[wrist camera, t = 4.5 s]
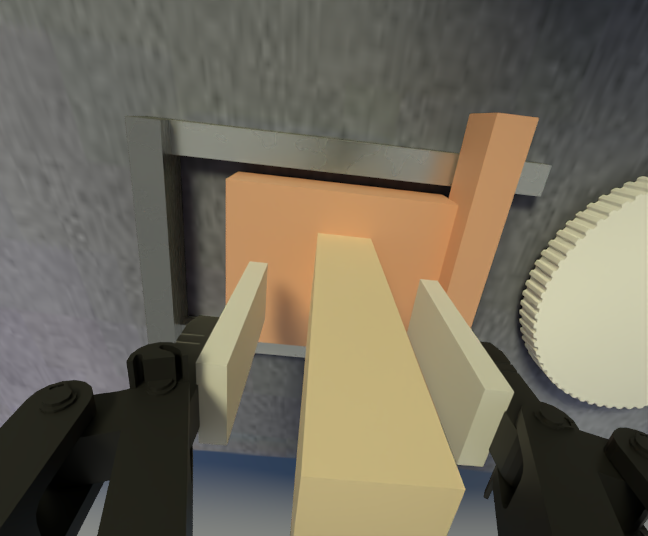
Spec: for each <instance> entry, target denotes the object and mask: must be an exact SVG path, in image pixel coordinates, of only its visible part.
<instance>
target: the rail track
mask: <svg viewBox="0 0 648 536" xmlns="http://www.w3.org/2000/svg"><path fill="white" fill-rule="evenodd" d="M125 125H126V134H127V144H128V153H129V163H130V172H131V182H132V192H133V201H134V211H135V220H136V230H137V239H138V249H139V258H140V268H141V277H142V287H143V296H144V306H145V315H146V325H147V334H148V344H152V343H157V342H172V343H176V340H177V339H178V337H179V336H180V334H181V333H182V331H183V330H184V328H185V327H186V325H187V324H188V323H189V322H190V321H192V320H193V319H195V318H196V317H194V316H188V308H187V288H186V268H185V248H184V228H183V207H182V187H181V167H180V155H182V156H191V157H200V158H209V159H217V160H226V161H235V162H243V163H252V164H261V165H270V166H278V167H287V168H296V169H304V170H313V171H322V172H331V173H339V174H348V175H357V176H365V177H374V178H383V179H392V180H400V181H409V182H418V183H426V184H435V185H444V186H452V183H453V179H454V175H455V171H456V167H457V163H458V159H459V155H460V153H453V152H444V151H436V150H427V149H419V148H411V147H402V146H394V145H385V144H377V143H368V142H360V141H352V140H343V139H335V138H326V137H318V136H309V135H301V134H293V133H284V132H276V131H267V130H259V129H250V128H242V127H234V126H225V125H217V124H208V123H200V122H191V121H183V120H175V119H166V118H158V117H149V116H125ZM551 166H552V165H548V164H543V163H537V162H529V161H525V163H524V166H523V169H522V172H521V175H520V178H519V181H518V184H517V188H516V191H515V194H522V195H531V196H540V197H541V194H542V192H543V189H544V186H545V183H546V180H547V178H548V175H549V172H550V169H551ZM255 353H260V354H271V355H281V356H292V357H303V358H305V355H306V347H305V346H295V345H284V344H274V343H263V342H258V344H257V347H256V350H255Z"/></svg>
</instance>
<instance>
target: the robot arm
mask: <svg viewBox="0 0 648 536" xmlns="http://www.w3.org/2000/svg"><path fill="white" fill-rule="evenodd" d="M267 270H268V263H261V262H252V261H250V262H249V263H248V265H247V267H246V269H245V271H244V273H243V275H242V277H241V279H240V280H239V282H238V284H237V286H236V288H235V290H234V292H233V294H232V295H231V297H230V299H229V301H228V303H227V305H226V307H225V309H224V310H223V312H222V314H221V316H220V317H210V316H198V317H196V318H195V319H193V320H192V321H190V322H189V323H188V324H187V325H186V327H185V328H184V330H183V331H182V333H181V334H180V336H179V337H178V339H177V340H176V343H172V342H157V343H152V344H148V345H146V346H143V347H141V348H139V349H137V350H136V351H135V352H133V353H132V354H131V355H130V356H129V358H128V360H127V369H128V376H129V384H130V389H127V390H122V391H117V392H110V393H103V394H96V395H93V391H92V387H91V386H90V385H89V384H87V383H86V382H83V381H77V380H72V381H62V382H59V383H55V384H52V385H49V386H47V387H45V388H43V389H41V390H39V391H37V392H35V393H34V394H33V395H32V396H31V397H29V398H28V399H27V400H26V401H25V402H24V403H23V404H22V405H21V406H20V407H19V408H18V409H17V411H16V412H15V413H14V414H13V415H12V416H11V417H10V418H9V419H8V420H7V421H6V422H5V423H4V424H3V426H2V427H1V428H0V536H77V534H78V532H79V530H80V528H81V526H82V524H83V522H84V520H85V518H86V516H87V514H88V512H89V510H90V508H91V507H92V505H93V503H94V501H95V499H96V497H97V495H98V493H99V491H100V489H101V487H102V485H103V483H104V481H108V480H110V482H109V486H108V490H107V495H106V499H105V504H104V508H103V513H102V517H101V522H100V526H99V530H98V535H97V536H193V535H192V534H193V533H192V532H193V531H192V530H193V523H192V522H193V446H192V444H193V442H194V439H195V437H196V434H197V432H199V443H203V444H215V445H227V443H228V440H229V436H230V433H231V430H232V426H233V423H234V420H235V417H236V413H237V410H238V407H239V403H240V400H241V397H242V393H243V390H244V387H245V384H246V380H247V377H248V374H249V370H250V367H251V364H252V360H253V357H254V354H255V350H256V347H257V344H258V341H259V337H260V334H261V331H262V327H263V324H264V321H265V309H266V290H267ZM407 334H408V337H409V340H410V342H411V345H412V347H413V350H414V353H415V355H416V358H417V361H418V363H419V366H420V369H421V371H422V374H423V376H424V379H425V382H426V384H427V387H428V390H429V392H430V395H431V398H432V400H433V403H434V405H435V408H436V411H437V413H438V416H439V419H440V421H441V424H442V427H443V429H444V432H445V434H446V437H447V440H448V442H449V445H450V448H451V450H452V453H453V456H454V458H455V461H456V463H457V465H469V466H481V467H483V466H484V463H485V461H486V459H487V456H488V454H489V451H490V453H491V455H492V457H493V459H494V461H495V463H496V466H495V469H494V471H493V473H492V475H491V478H490V480H489V482H488V485H487V487H486V489H485V492H484V498H486V499H488V498H489V496H490V493H491V491H492V490H493V493H494V502H495V511H496V519H497V529H498V536H648V531H647V529H646V528H645V526H644V525H643V524H644V523H645V522H646V520H647V519H648V435H647V434H645V433H643V432H640V431H637V430H634V429H630V428H618V429H616V430H615V431H614V432H613V433H612V435H611V437H610V438H609V440H608V439H605V438H602V437H599V436H596V435H593V434H590V433H586V432H583V431H580V430H579V428H578V427H577V425H576V424H575V422H574V421H573V420H572V419H571V418H570V417H569V416H568V415H567V414H565V413H564V412H563V411H561V410H559V409H558V408H556V407H554V406H552V405H549V404H547V403H544V402H540V401H539V400H538V398H537V397H536V396H535V394H534V393H533V392H532V390H531V389H530V388H529V387H528V385H527V384H526V383H525V381H524V380H523V379H522V377H521V376H520V375H519V374H518V373H517V371H516V369H515V368H514V367H513V365H511V364H510V361H509V360H508V359H507V357H506V356H505V355H504V353H503V352H502V351H500V350H499V349H498V348H496V347H495V346H494V345H492V344H491V343H488V342H479V340H478V339H477V337H476V336H475V334H474V333H473V331H472V330H471V328H470V327H469V326H468V324H467V323H466V321H465V320H464V318H463V317H462V315H461V314H460V313H459V311H458V310H457V308H456V307H455V305H454V304H453V302H452V301H451V299H450V298H449V297H448V295H447V294H446V292H445V291H444V289H443V288H442V286H441V285H440V284H439V282H438V281H435V280H425V279H420V281H419V286H418V290H417V294H416V298H415V302H414V306H413V310H412V314H411V319H410V323H409V327H408V331H407Z"/></svg>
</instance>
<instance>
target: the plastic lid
mask: <svg viewBox="0 0 648 536" xmlns="http://www.w3.org/2000/svg"><path fill="white" fill-rule="evenodd" d="M565 225H566V227H565V228H564V229H563V230H559V231H558V232H557V233H556V235H557V237H556V238H555V239H554V240H550V241H549V243H548V245H549V247H548V248H547V249H546V250H543V251H542V252H541V255H542V257H541V258H540V260H536V262H535V265H536V267H535V269H534V270H531V271H530V273H529V275H531V278H530V280H527V281H526V283H525V285H526V286H527V289H526V290H523V293H522V295H523V296H524V299H523V300H521V302H520V304H521V305H522V306H523V307H522V309H520V311H519V314H520V315H521V316H522V318H520V319H519V322H520V324H521V325H522V327H521V328H520V331H521V332H522V333H523V334H524V335H523V336H522V339H523V340H524V341H525V344H524V345H525V347H526V348H527V349H528V350H529V351H528V353H529V354H530V355H531V357H532V359H533V360H534V361H535V363H536V364H537V365H538V366H539V367H540V368H541V370H542V371H543V372H544V373H545V374H546V375H547V377H548V378H549V379H550V380H551V381H552V382H553V383H554V384H555V385H556V386H557V387H558V388H559V389H562V390H563V391H564V392H565V393H566V394H570V395H571V396H572V397H573V398H578V399H579V400H580V401H582V402H584V401H586V402H587V403H588V404H591V405H592V404H594V403H595V404H596V405H597V406H600V407H602V406H603V405H605V406H606V407H607V408H612V407H613V406H614V407H616V408H617V409H622V408H623V407H626V408H627V409H632V408H633V407H637V408H638V409H639V408H643V407H644V406H648V177H645V176H641V177H639V178H637V181H636V182H630V181H629V182H626V183H624V186H623V187H622V188H614V189H612V190H611V193H610V194H609V195H607V196H606V195H602V196H600V197H599V198H598V201H597V202H596V203H590V204H588V205H587V209H586V210H585V211H583V212H581V211H579V212H578V213H577V214H576V218H575V219H574V220H573V221H571V220H569V221H568V222H567V223H566V224H565Z"/></svg>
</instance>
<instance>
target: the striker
mask: <svg viewBox="0 0 648 536" xmlns="http://www.w3.org/2000/svg"><path fill="white" fill-rule="evenodd" d="M538 120H539V118H536V117H528V116H520V115H512V114H504V113H474V114H470V115H469V119H468V123H467V127H466V131H465V135H464V139H463V143H462V147H461V151H460V155H459V159H458V163H457V167H456V171H455V175H454V179H453V183H452V187H451V191H450V195H449V199H448V198H447V197H445V196H444V195H442V194H434V193H425V192H416V191H407V190H398V189H390V188H381V187H372V186H363V185H354V184H346V183H337V182H328V181H319V180H310V179H302V178H293V177H284V176H275V175H266V174H258V173H249V172H240V171H238V172H237V173H235V174H233V175H232V176H230V177H228V178H227V179H226V305H227V303H228V301H229V299H230V297H231V295H232V294H233V292H234V290H235V288H236V286H237V284H238V282H239V280H240V279H241V277H242V275H243V273H244V271H245V269H246V267H247V265H248V263H249V262H250V261H252V262H261V263H268V270H267V290H266V309H265V321H264V324H263V327H262V331H261V334H260V337H259V341H258V342H263V343H274V344H284V345H295V346H305V347H306V355H305V367H304V379H303V390H302V402H301V414H300V425H299V437H298V449H297V460H296V472H295V484H294V496H293V507H292V519H291V531H290V536H447V534H448V532H449V529H450V527H451V524H452V522H453V519H454V517H455V514H456V512H457V509H458V507H459V504H460V502H461V500H462V497H463V495H464V492H465V490H466V489H465V487H464V484H463V481H462V479H461V476H460V473H459V471H458V468H457V466H456V463H455V460H454V458H453V455H452V452H451V450H450V447H449V444H448V442H447V439H446V436H445V434H444V431H443V428H442V426H441V423H440V419H439V416H438V413H437V411H436V408H435V405H434V403H433V400H432V398H431V395H430V392H429V390H428V387H427V384H426V382H425V379H424V376H423V374H422V371H421V369H420V366H419V363H418V361H417V358H416V355H415V353H414V350H413V347H412V345H411V342H410V340H409V337H408V334H407V331H408V327H409V323H410V319H411V314H412V310H413V306H414V302H415V298H416V294H417V290H418V286H419V281H420V279H425V280H435V281H438V282H439V284H440V285H441V286H442V288H443V289H444V291H445V292H446V294H447V295H448V297H449V298H450V299H451V301H452V302H453V304H454V305H455V307H456V308H457V310H458V311H459V313H460V314H461V315H462V317H463V318H464V320H465V321H466V323H467V324H468V326H469V327H470V328H471V326H472V323H473V320H474V317H475V314H476V310H477V307H478V304H479V301H480V298H481V295H482V292H483V289H484V286H485V283H486V280H487V277H488V274H489V271H490V267H491V264H492V261H493V258H494V255H495V252H496V249H497V246H498V243H499V240H500V237H501V234H502V231H503V227H504V224H505V221H506V218H507V215H508V212H509V209H510V206H511V203H512V200H513V197H514V194H515V191H516V188H517V184H518V181H519V178H520V175H521V172H522V169H523V166H524V163H525V160H526V157H527V154H528V151H529V148H530V145H531V141H532V138H533V135H534V132H535V129H536V126H537V123H538Z"/></svg>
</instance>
